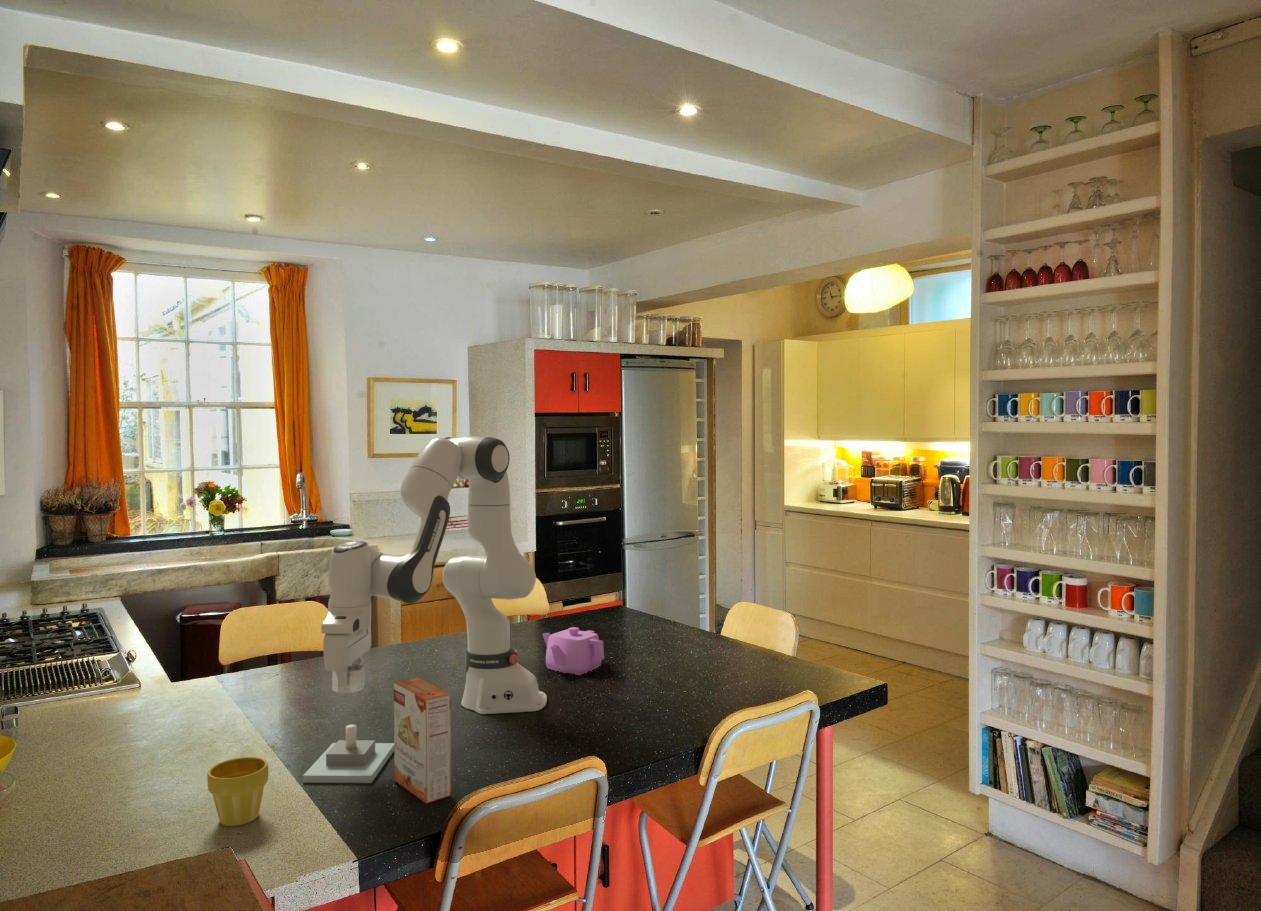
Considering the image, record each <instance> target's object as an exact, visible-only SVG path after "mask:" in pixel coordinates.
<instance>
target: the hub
mask: <svg viewBox="0 0 1261 911" xmlns="http://www.w3.org/2000/svg"><path fill="white" fill-rule="evenodd" d="M331 674H332V677H331V680H332V681H331V690H332V691H333V692H335V693H338V694H351V693H356V692H361V691H362V690H363V689H364V688H366V666H364V665H362V664H361V665H360V664H350V665H349V666H348V670H347V677H348V685H347V686H346V687H339V686H338V678H337V675H336V672H335V671H331Z"/></svg>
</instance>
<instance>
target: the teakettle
mask: <svg viewBox="0 0 1261 911" xmlns="http://www.w3.org/2000/svg"><path fill="white" fill-rule="evenodd" d="M595 632H596V631H594V630H589V629H588V630H580V628H579V627H575V626H572V627H569V628H568V629H567V628H566V629H565V630H561V631H558V632H554V633H552V634H550V633H551V632H545V633H542V637H543V640H544V643H545V646H546V650H545V651H546V652H545V665H546V668H548V669H547V670H549V669H551V670H550V671H553V670H554V671H553V672H557V671H559V672H558V673H561V672H562V673H563V674H566V673H569V674H568V675H573V674H575V675H574V676H582V674H584V673H586V674H588V673H587V672H588V671H591V672H593V671H592V670H593V669H596V668H598V667H599V666H600V667H601V665H602V660H604V659H605V652H604V650H605V649H604V640H601V639H600V637H599V634H598V633H595ZM598 669H599V668H598ZM596 670H597V669H596ZM570 673H571V674H570ZM584 675H585V674H584Z"/></svg>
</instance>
